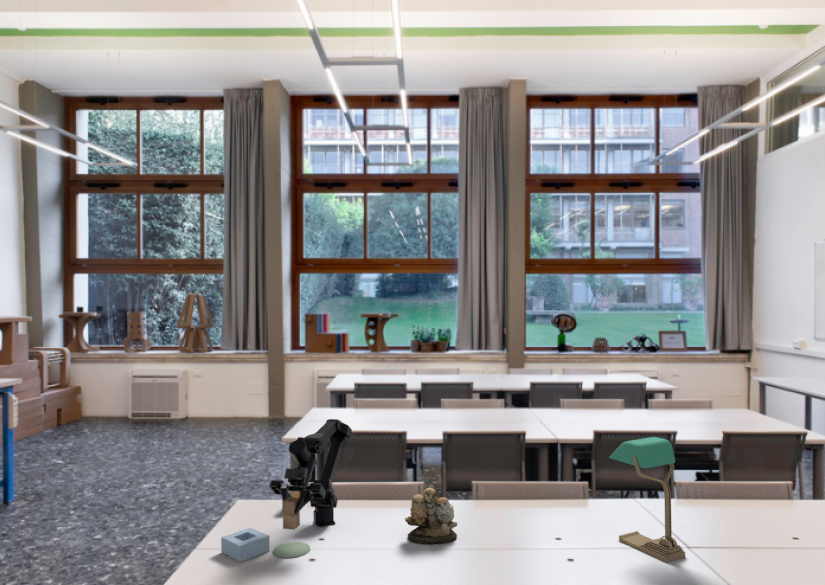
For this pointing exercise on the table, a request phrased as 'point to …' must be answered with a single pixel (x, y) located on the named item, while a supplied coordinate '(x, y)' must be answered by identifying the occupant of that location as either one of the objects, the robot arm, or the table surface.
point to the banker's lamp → (658, 454)
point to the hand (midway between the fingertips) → (289, 513)
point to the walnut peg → (290, 514)
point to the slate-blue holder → (245, 544)
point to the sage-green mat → (291, 550)
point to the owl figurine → (431, 519)
